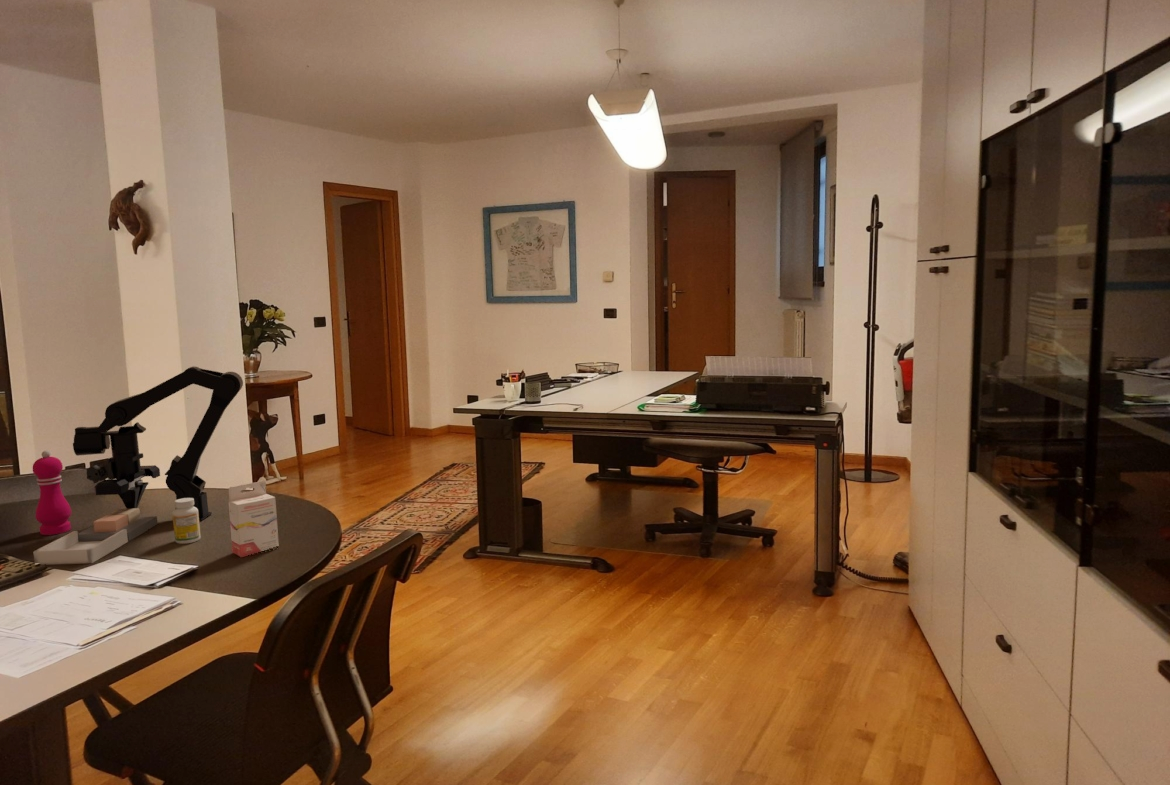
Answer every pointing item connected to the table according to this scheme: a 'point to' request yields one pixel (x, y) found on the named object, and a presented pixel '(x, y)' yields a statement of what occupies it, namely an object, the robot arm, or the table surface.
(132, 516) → the birch tile
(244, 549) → the ink cartridge box
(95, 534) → the board
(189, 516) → the supplement bottle
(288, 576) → the table surface
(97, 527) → the terracotta tile
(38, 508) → the pepper mill
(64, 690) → the table surface
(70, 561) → the box
